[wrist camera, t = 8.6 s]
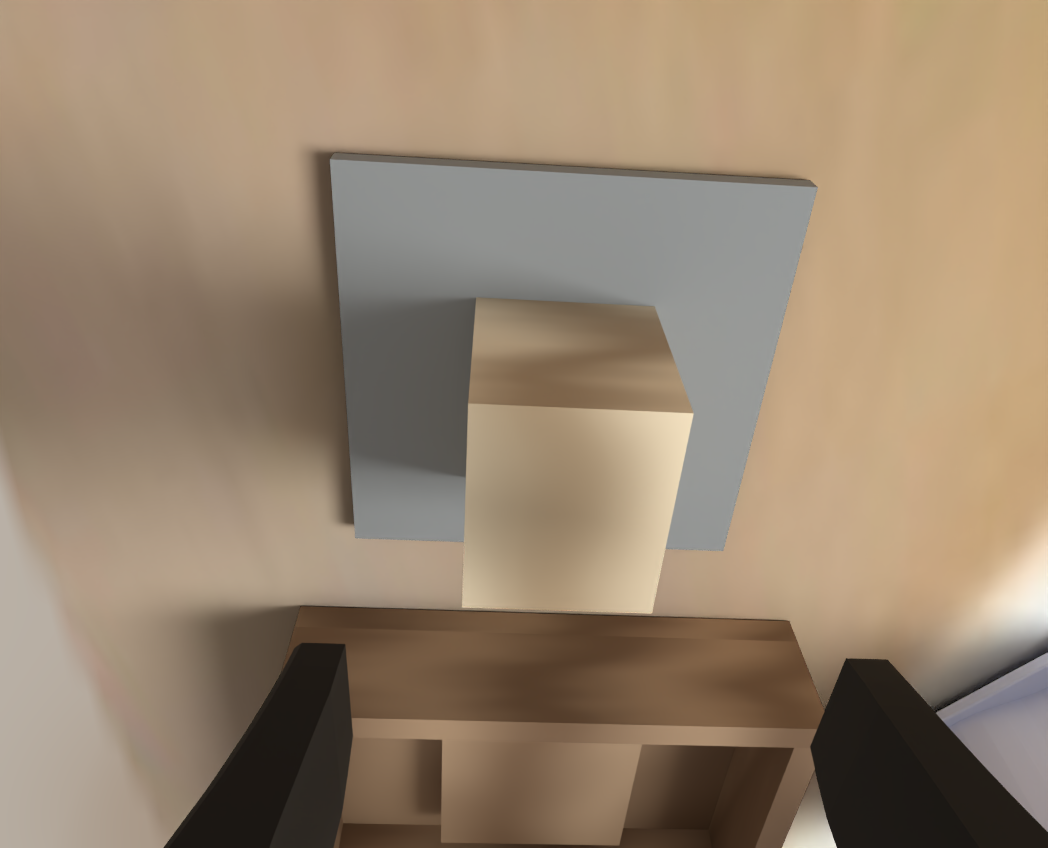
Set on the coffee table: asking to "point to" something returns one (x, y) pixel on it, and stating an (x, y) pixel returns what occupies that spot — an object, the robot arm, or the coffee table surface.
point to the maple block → (570, 456)
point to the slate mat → (549, 275)
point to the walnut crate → (569, 729)
